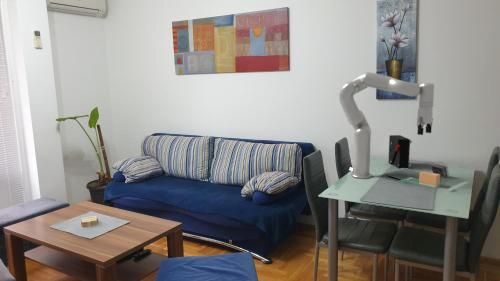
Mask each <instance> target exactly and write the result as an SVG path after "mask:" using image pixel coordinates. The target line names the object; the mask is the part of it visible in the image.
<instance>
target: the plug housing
mask: <svg viewBox="0 0 500 281" xmlns="http://www.w3.org/2000/svg"><path fill="white" fill-rule="evenodd" d="M418 178H419V182H421V183H426V184H431V185H438V184H440V182H441V175H440V174H435V173H433V172H429V171H424V170H423V171H421V172H419V174H418Z"/></svg>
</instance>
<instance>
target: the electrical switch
mask: <svg viewBox="0 0 500 281" xmlns="http://www.w3.org/2000/svg"><path fill="white" fill-rule="evenodd" d="M431 170H432V173H435V174H440V177H442V178H450V175H449V170H448V165H447V164H443V163H439V162H434V163H433V165H431Z"/></svg>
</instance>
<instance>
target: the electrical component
mask: <svg viewBox="0 0 500 281" xmlns="http://www.w3.org/2000/svg"><path fill="white" fill-rule="evenodd" d="M388 139H389V141H388V164H390V165H393V166H394V167H395V168H397V169H399V170H401V169H406V168H408V169H410V167H412V164H411V163H410V154H411V153H410V151H411V144H412V143H413V141H412V139H410V138H407V137H405V136H404V135H400V134H398V135H397V134H394V135H393V134H391V135H389V138H388Z"/></svg>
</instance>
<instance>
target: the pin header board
mask: <svg viewBox="0 0 500 281" xmlns="http://www.w3.org/2000/svg"><path fill="white" fill-rule="evenodd" d="M408 177H409V176H407V177H406V178H408ZM398 181H399V182H403V183H408V184H414V185H418V186H423V187H427V188H432V189H438V188H442V187H443V186H445V185H448V183H447V182H443V181H440V184H438V185H431V184H426V183H421V182H419V177H417V179H412V180H407V179H406V180H405V178H402V179H400V180H398Z"/></svg>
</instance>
